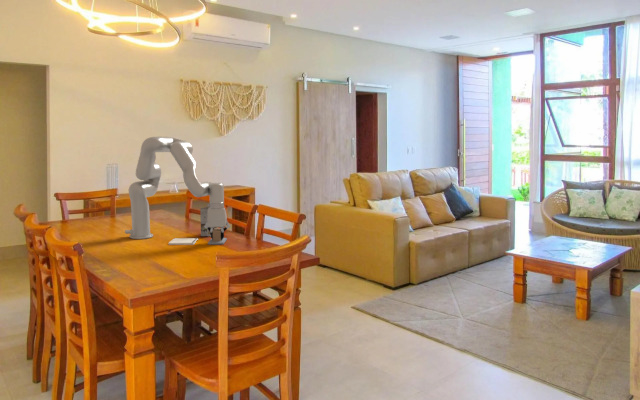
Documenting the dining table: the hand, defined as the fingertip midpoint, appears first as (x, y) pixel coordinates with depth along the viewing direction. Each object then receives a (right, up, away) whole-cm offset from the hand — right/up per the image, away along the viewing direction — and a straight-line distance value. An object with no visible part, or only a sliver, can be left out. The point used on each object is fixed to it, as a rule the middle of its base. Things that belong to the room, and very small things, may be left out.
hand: (217, 238), depth 266 cm
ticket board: (-18, -2, 0) cm, 18 cm away
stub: (0, -2, 0) cm, 2 cm away
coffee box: (-9, +1, +20) cm, 22 cm away
